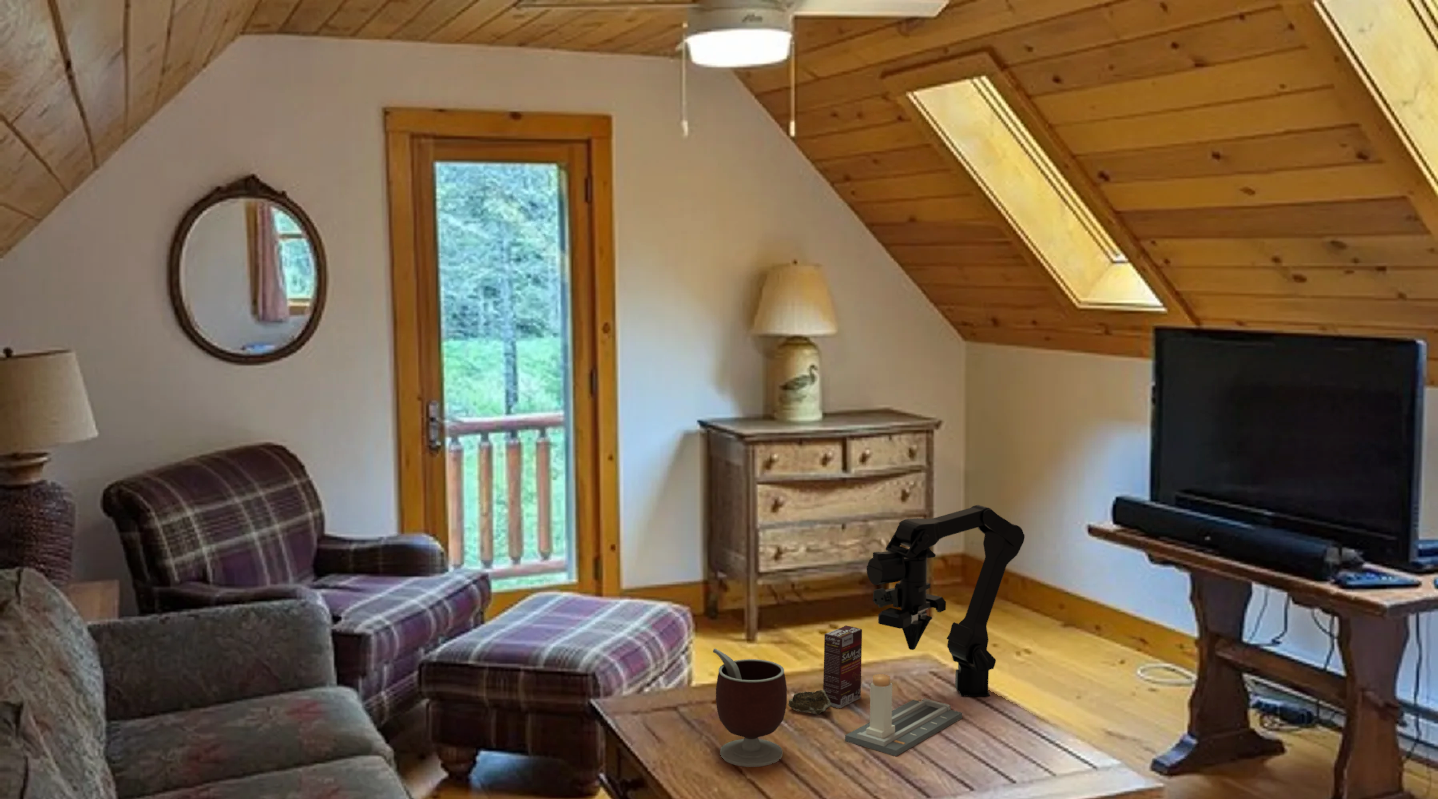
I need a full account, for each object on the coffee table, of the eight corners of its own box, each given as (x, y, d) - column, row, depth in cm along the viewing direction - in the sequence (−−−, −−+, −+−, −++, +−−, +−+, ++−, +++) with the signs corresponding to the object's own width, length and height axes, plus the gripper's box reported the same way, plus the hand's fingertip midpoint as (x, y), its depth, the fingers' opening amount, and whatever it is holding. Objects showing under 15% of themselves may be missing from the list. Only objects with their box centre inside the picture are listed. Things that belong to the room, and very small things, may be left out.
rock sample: (841, 686, 272) (822, 669, 266) (845, 718, 266) (825, 701, 261) (799, 701, 275) (780, 684, 270) (802, 732, 270) (782, 715, 264)
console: (913, 704, 271) (913, 695, 271) (962, 718, 263) (962, 708, 263) (845, 740, 251) (845, 730, 251) (895, 756, 244) (896, 745, 243)
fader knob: (879, 730, 253) (880, 671, 252) (894, 735, 251) (895, 675, 249) (866, 738, 249) (866, 678, 248) (881, 742, 247) (882, 682, 246)
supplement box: (840, 709, 268) (841, 638, 266) (822, 704, 271) (822, 633, 269) (862, 698, 275) (863, 628, 273) (844, 693, 278) (844, 624, 276)
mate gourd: (798, 748, 247) (799, 651, 245) (765, 774, 235) (765, 672, 233) (731, 733, 255) (731, 638, 253) (695, 757, 243) (695, 658, 241)
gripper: (904, 564, 280) (902, 631, 282) (857, 581, 266) (856, 652, 268) (947, 572, 273) (946, 641, 275) (902, 590, 259) (901, 663, 260)
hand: (911, 649), depth 269 cm, fingers closed
